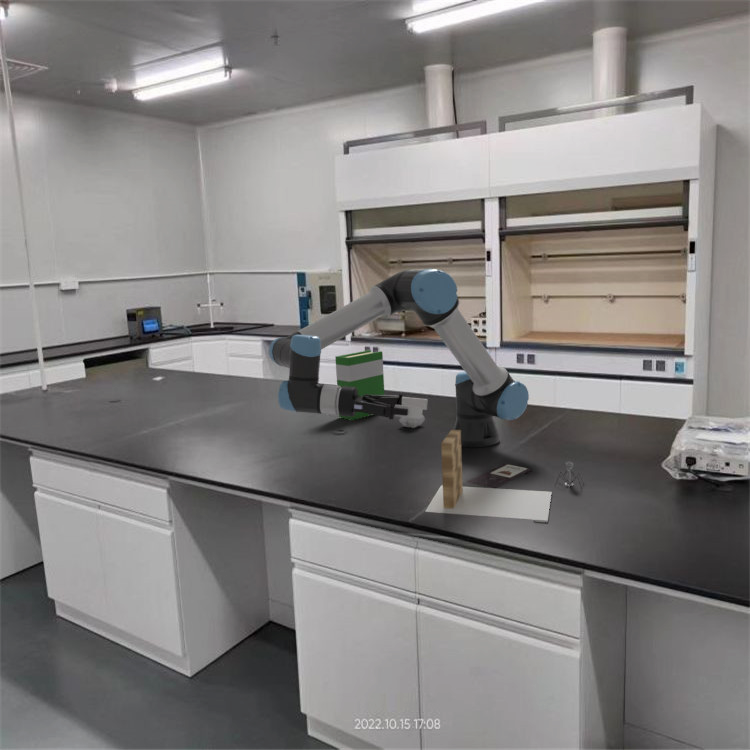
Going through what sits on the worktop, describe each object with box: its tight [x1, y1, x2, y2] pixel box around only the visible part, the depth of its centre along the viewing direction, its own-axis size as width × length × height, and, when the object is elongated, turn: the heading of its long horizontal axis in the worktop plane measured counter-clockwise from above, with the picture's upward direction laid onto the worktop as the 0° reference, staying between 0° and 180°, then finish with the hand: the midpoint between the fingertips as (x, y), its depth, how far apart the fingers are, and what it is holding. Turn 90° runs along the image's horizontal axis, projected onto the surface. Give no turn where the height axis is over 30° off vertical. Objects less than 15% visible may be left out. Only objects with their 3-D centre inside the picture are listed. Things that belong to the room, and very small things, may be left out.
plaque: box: [440, 429, 464, 509], centre depth 158 cm, size 12×2×16 cm, turn 162°
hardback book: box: [335, 349, 386, 421], centre depth 250 cm, size 18×7×24 cm, turn 134°
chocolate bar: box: [467, 463, 533, 489], centre depth 175 cm, size 9×1×18 cm
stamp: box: [398, 414, 426, 429], centre depth 230 cm, size 9×7×8 cm
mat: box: [424, 484, 553, 523], centre depth 157 cm, size 18×28×1 cm, turn 72°
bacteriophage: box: [554, 461, 584, 490], centre depth 166 cm, size 7×8×7 cm
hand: (424, 408), depth 159 cm, fingers open, 13 cm apart
